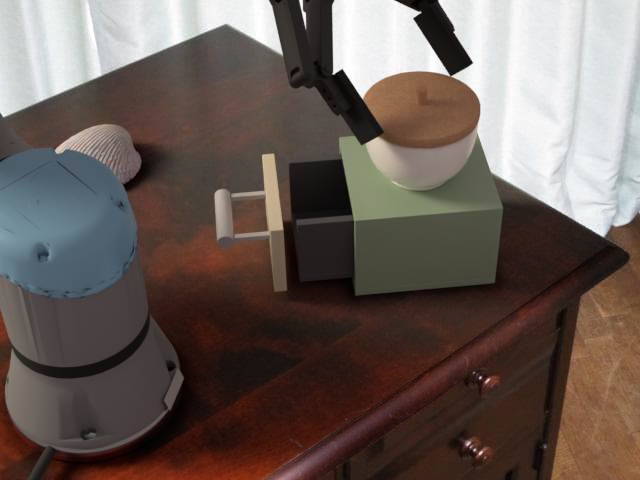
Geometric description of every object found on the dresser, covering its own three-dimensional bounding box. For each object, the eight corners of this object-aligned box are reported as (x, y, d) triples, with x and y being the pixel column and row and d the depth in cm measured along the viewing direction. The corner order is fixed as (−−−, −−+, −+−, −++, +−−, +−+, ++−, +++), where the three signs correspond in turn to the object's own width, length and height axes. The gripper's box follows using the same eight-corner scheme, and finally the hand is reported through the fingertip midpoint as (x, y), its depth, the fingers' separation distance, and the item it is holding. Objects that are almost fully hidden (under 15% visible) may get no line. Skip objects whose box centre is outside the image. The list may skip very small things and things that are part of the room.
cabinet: (355, 295, 110) (355, 220, 104) (340, 210, 120) (339, 137, 113) (494, 283, 111) (503, 208, 105) (469, 199, 120) (475, 125, 114)
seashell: (162, 135, 125) (94, 165, 117) (159, 178, 128) (93, 210, 120) (95, 101, 129) (26, 129, 122) (94, 144, 132) (27, 173, 125)
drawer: (222, 296, 109) (215, 235, 104) (217, 218, 118) (211, 158, 112) (404, 280, 110) (406, 219, 105) (386, 204, 119) (388, 143, 114)
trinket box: (479, 207, 105) (487, 124, 98) (361, 207, 105) (362, 124, 99) (470, 136, 113) (476, 54, 106) (361, 136, 113) (361, 56, 107)
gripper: (207, -65, 91) (356, 158, 93) (397, -168, 105) (521, 29, 107) (167, -26, 97) (308, 183, 99) (351, -128, 111) (470, 57, 114)
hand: (419, 103), depth 103 cm, fingers open, 13 cm apart
